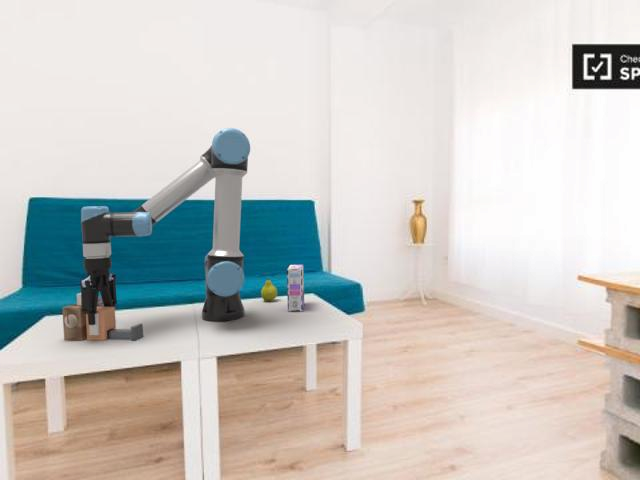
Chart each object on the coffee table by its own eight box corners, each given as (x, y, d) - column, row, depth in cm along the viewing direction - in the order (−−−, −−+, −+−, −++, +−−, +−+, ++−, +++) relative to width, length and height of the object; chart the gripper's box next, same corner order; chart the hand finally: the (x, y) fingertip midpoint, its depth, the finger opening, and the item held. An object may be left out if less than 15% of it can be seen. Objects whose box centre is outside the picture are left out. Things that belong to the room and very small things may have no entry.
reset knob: (90, 303, 129) (89, 292, 129) (83, 305, 126) (82, 294, 126) (84, 303, 130) (83, 292, 129) (77, 305, 127) (76, 294, 126)
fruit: (279, 299, 179) (278, 271, 179) (275, 302, 173) (275, 274, 172) (263, 299, 180) (262, 272, 179) (259, 302, 173) (258, 274, 172)
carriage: (116, 335, 130) (114, 306, 129) (105, 340, 125) (103, 310, 124) (98, 334, 131) (97, 306, 130) (87, 339, 126) (85, 310, 125)
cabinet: (97, 333, 132) (96, 302, 131) (80, 341, 124) (78, 307, 123) (80, 333, 133) (79, 301, 132) (62, 340, 125) (60, 307, 124)
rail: (143, 336, 128) (142, 323, 128) (134, 340, 124) (134, 327, 123) (92, 334, 131) (91, 322, 130) (82, 339, 126) (81, 326, 126)
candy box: (303, 311, 156) (302, 268, 155) (287, 312, 156) (286, 268, 155) (304, 303, 170) (303, 263, 169) (290, 304, 170) (289, 264, 169)
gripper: (106, 254, 136) (110, 323, 137) (63, 260, 118) (68, 340, 119) (127, 253, 135) (130, 324, 136) (87, 260, 116) (91, 341, 118)
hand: (101, 331), depth 128 cm, fingers open, 5 cm apart
